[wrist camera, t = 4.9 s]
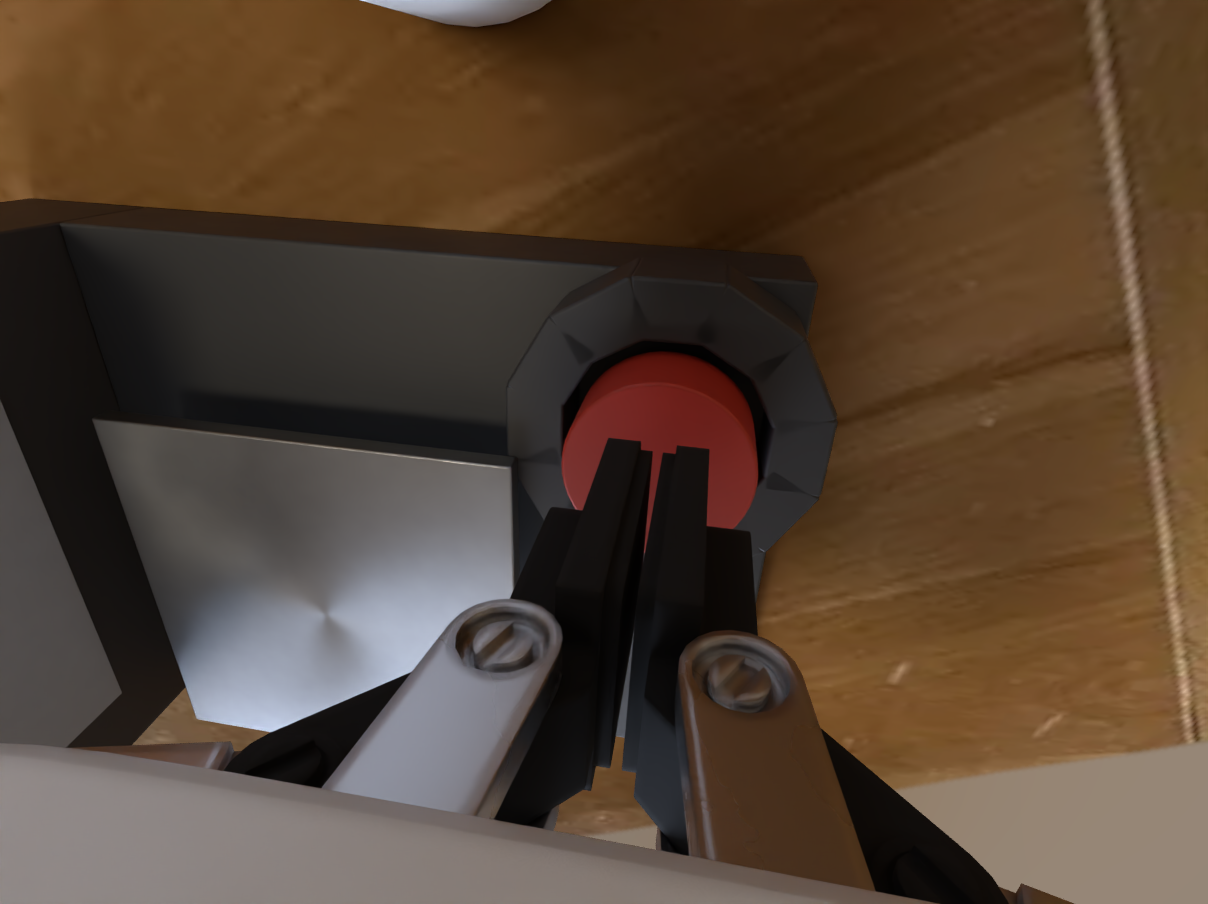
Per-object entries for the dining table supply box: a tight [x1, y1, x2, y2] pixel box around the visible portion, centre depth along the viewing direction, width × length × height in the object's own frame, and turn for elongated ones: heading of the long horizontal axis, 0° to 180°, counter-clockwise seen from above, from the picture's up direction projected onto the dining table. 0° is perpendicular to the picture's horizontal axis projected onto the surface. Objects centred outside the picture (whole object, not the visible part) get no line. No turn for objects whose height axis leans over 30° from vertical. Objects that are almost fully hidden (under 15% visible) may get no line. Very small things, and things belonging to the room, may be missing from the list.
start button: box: [561, 351, 758, 553], centre depth 13 cm, size 4×4×2 cm
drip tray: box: [92, 410, 520, 732], centre depth 16 cm, size 10×10×1 cm
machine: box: [60, 208, 838, 737], centre depth 18 cm, size 18×14×4 cm
